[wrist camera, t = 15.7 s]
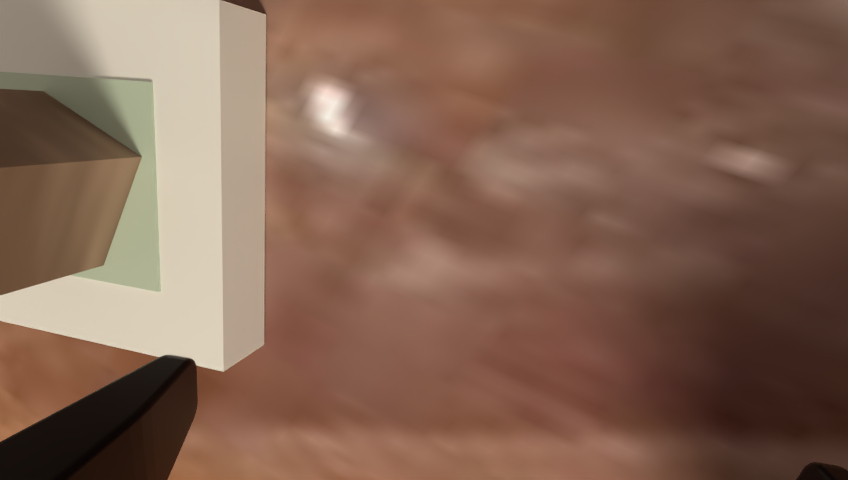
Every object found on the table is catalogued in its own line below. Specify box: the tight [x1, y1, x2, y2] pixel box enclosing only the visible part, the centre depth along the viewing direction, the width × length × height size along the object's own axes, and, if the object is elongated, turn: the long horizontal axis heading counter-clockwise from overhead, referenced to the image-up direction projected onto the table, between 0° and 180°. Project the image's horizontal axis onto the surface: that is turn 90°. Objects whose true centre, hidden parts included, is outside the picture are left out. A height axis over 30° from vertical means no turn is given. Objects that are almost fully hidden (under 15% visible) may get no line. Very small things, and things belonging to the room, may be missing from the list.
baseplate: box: [0, 0, 266, 372], centre depth 21 cm, size 12×12×3 cm
